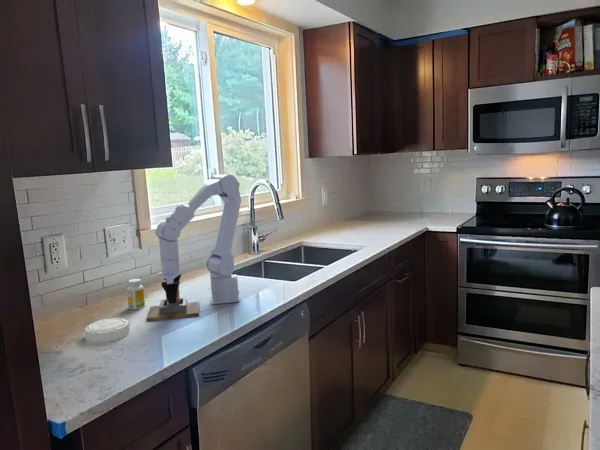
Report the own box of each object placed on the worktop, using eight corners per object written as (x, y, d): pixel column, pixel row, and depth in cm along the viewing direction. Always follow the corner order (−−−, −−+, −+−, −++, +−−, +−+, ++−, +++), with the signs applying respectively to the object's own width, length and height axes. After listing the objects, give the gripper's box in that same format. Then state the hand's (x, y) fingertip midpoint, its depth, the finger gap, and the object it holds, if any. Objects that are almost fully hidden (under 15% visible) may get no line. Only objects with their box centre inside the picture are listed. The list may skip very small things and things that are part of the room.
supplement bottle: (126, 310, 156) (124, 282, 155) (130, 305, 161) (128, 278, 160) (143, 309, 157) (140, 281, 155) (146, 304, 162) (144, 277, 160)
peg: (180, 307, 154) (178, 283, 153) (180, 310, 150) (178, 287, 149) (168, 308, 153) (166, 284, 152) (167, 312, 149) (165, 288, 148)
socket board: (199, 304, 159) (198, 294, 159) (199, 315, 148) (198, 305, 147) (150, 309, 156) (149, 299, 156) (146, 321, 145) (145, 310, 144)
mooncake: (113, 325, 143) (112, 314, 143) (138, 332, 137) (137, 320, 136) (76, 338, 133) (75, 326, 133) (102, 346, 127) (100, 334, 126)
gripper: (159, 255, 155) (162, 294, 158) (154, 265, 141) (158, 307, 143) (180, 253, 157) (183, 292, 159) (178, 263, 143) (182, 305, 145)
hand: (173, 299), depth 151 cm, fingers open, 7 cm apart
